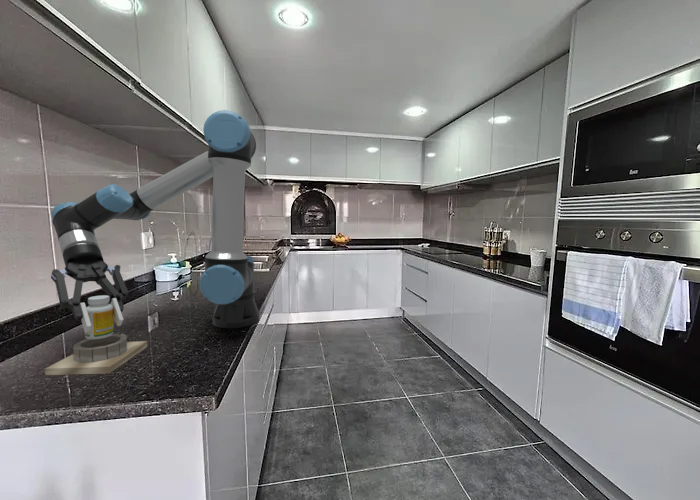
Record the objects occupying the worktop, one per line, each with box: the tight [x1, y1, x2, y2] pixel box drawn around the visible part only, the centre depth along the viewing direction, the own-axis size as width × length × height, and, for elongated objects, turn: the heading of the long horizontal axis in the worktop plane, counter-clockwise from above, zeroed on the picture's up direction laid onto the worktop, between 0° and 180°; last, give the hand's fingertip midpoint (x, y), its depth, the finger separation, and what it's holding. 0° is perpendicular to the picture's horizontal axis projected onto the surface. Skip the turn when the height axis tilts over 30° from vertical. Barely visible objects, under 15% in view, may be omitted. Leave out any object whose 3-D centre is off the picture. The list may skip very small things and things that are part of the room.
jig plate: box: [44, 333, 148, 376], centre depth 74 cm, size 13×15×4 cm
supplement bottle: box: [84, 294, 115, 340], centre depth 73 cm, size 5×5×10 cm
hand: (104, 325), depth 71 cm, fingers closed on supplement bottle, 5 cm apart
